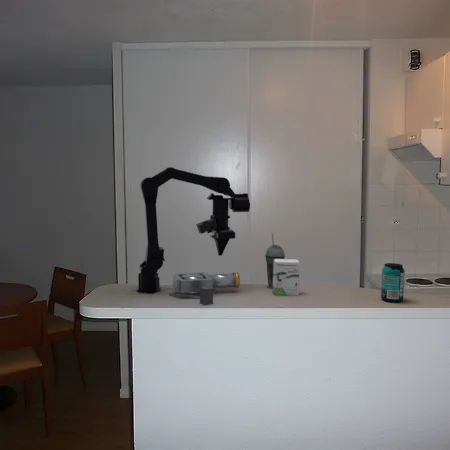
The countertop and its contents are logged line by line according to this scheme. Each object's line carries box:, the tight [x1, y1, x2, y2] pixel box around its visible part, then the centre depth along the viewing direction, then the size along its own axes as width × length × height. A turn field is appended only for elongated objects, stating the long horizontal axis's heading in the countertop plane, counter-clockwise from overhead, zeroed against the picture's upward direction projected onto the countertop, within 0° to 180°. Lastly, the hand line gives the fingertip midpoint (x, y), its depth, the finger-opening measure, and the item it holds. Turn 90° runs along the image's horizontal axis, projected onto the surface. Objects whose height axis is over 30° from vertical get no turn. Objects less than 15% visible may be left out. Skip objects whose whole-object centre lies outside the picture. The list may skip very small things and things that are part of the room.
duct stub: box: [168, 274, 216, 300], centre depth 172 cm, size 12×12×6 cm
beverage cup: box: [264, 232, 286, 289], centre depth 182 cm, size 7×7×20 cm
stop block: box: [199, 286, 214, 306], centre depth 160 cm, size 3×3×5 cm
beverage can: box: [380, 262, 406, 304], centre depth 165 cm, size 7×7×12 cm
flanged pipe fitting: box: [172, 271, 241, 293], centre depth 173 cm, size 22×12×5 cm, turn 105°
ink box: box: [272, 258, 301, 296], centre depth 173 cm, size 9×5×12 cm, turn 93°
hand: (220, 255), depth 180 cm, fingers closed
